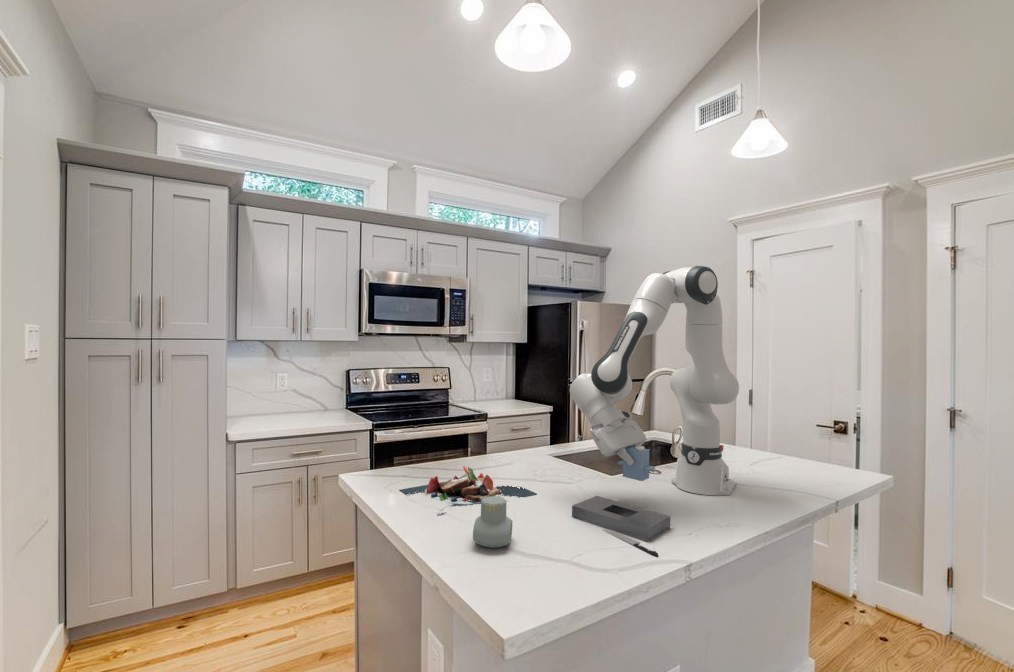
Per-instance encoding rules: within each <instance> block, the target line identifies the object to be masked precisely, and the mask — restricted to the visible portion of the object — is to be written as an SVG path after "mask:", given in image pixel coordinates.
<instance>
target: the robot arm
mask: <svg viewBox="0 0 1014 672" xmlns="http://www.w3.org/2000/svg"><path fill="white" fill-rule="evenodd" d="M718 285H719V282H718V277H717V275H716V272H714V270H713V269H712V268H711V267H708V266H703V265H695V266H688V267H680V268H677V269H673V270H668V271H665V272H663V273H661V272H654V273H651V274H649V275H648V276H647V277H646V278H645V279H644V280H643V282H642V283H641V285H640V286H639V288H638V289H637V291H636V293H635V295H634V297H633V299H632V301H631V303H630V306H629V308H628V310H627V313H626V316H625V318H624V320H623V323H622V325H621V326H620V328H619V330H618V331H617V334H616V335H615V337H614V339H613V341H612V343H611V345H610V347H609V348H608V350H607V352H606V353H605V354H603V356H602V357H601V358H600V359H598V360H597V362H596V363H594V365H593V367H592V369H591V373H581V374H579V375H577V377H575V378H574V379H573V381H572V382H571V384H570V386H569V394H570V397H571V398H572V400H573V402H574V403H575V404H576V406H577V408H578V409H579V410H580V412H581V413H582V414H584V415H585V417H586V418H587V420H588V423H589V424H590V425H591V427H590V434H591V435H592V440H593V441H594V444H595V445H596V446H597V448H598V450H599V452H601V454H602V455H603V456H605V458H608V457H611V456H615V455H616V454H617V455H618V457H619V458H620V459H622V460H623V459H624V460H625V461H626V462H627V463H628V464H629V465H633V464H634V463H635V462H636V460H635V459H634V458H633V456H632V457H631V456H630V455H629V454H628V453H627V451H626V450H625V447H628V446H633V447H636V446H643V444H644V443H645V442H646V441H647V436H646V434H645V433H644V431H643V430H642V428H641V427H640V426H639V424H638V423H637V422H636V421H635V420H634V419H632V418H633V416H632V414H631V413H630V412H629V411H625V410H621V409H619V408H617V407H616V405H614V404H616V403H618V402H620V401H622V400H624V399H626V398H627V397H628V396H629V395H630V394H631V392H632V390H633V385H634V383H633V380H632V378H631V376H630V374H629V369H628V368H629V366H628V365H629V361H630V360H631V357H632V356H633V354H634V352H635V350H636V348H637V346H638V344H639V342H640V340H641V339H642V338H643V337H644V336H649V335H653V334H655V333H657V332H658V331H659V329H660V328H661V326H662V325H663V323H664V321H665V319H666V317H667V315H668V312H669V310H670V307H671V305H672V304H683V305H684V306H685V309H686V315H685V340H684V342H685V343H684V344H685V350H686V351H687V353H688V354H689V355H690V356H691V358H692V361H693V365H694V366H685V367H680V368H677V369H675V370H673V372H672V374H671V375H670V377H669V378H670V379H669V386H670V389H671V391H672V392H673V393H674V395H675V397H676V398H677V400H678V404H679V407H680V411H681V415H682V442H681V446H680V451H681V452H680V453H681V456H679V457H678V458H677V459H676V468H675V469H676V470H675V477H674V478H672V479H671V483H673V484H674V485H675V486H676V487H677V488H679V489H680V490H683V491H684V492H688V493H691V494H692V493H693V494H698V495H707V496H709V495H711V496H713V495H714V496H716V495H719V496H720V495H721V496H730V495H732V493H733V491H734V489H735V487H736V485H737V481H736V480H734V479H730V475H729V474H730V472H729V471H730V470H729V466H728V465H727V463H726V462H725V461H724V460H723V454H722V453H723V451H724V447H725V446H724V445H723V444H720V441H721V437H720V436H721V423H720V420H719V419H718V417H717V416H716V415H715V413H714V412H713V408H712V406H711V405H717V406H718V405H726V404H730V403H732V402H734V401H735V400H736V398H737V397H738V395H739V390H740V384H739V381H738V379H737V377H736V376H735V375H734V374H733V373H732V372H731V370H730V369H729V368H730V367H728V365H727V362H726V361H727V360H726V359H725V354H724V351H723V350H724V349H723V311H722V303H721V298H720V296H719V295H718V294H717V293H718V287H719V286H718Z"/></svg>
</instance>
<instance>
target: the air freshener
mask: <svg viewBox="0 0 1014 672" xmlns="http://www.w3.org/2000/svg"><path fill="white" fill-rule="evenodd" d="M472 531H473V532H472V540H473V541H474V542H475V543H476V544H478V545H480V546H482V547H485V548H489V549H493V548H494V549H496V548H497V549H498V548H501V547H502V548H503V547H505V546H506V545H509V544H510V543H511V542H512V541H511V540H512V537H513V536H512V534H513V520H512V519H511V518H510V517H509V516H508V515H507V500H506V499H505V498H504V497H503V496H500V497H498V495H495V496H490V497H485V498H483V499H482V500H481V504H480V516H478V517H476V519H475V521H474V523H473V530H472Z"/></svg>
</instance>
